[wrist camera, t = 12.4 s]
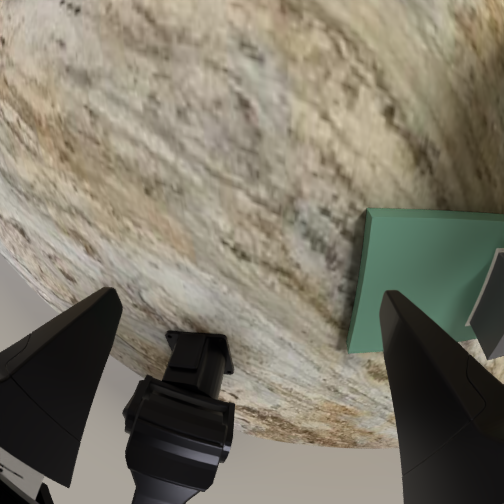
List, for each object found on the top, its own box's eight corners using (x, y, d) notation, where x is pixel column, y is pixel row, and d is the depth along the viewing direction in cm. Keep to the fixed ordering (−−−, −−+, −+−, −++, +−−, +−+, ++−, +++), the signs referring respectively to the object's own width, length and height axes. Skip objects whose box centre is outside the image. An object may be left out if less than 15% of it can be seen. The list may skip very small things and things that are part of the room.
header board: (506, 322, 23) (521, 348, 19) (346, 341, 26) (351, 379, 22) (549, 218, 16) (574, 241, 12) (366, 208, 19) (384, 239, 15)
